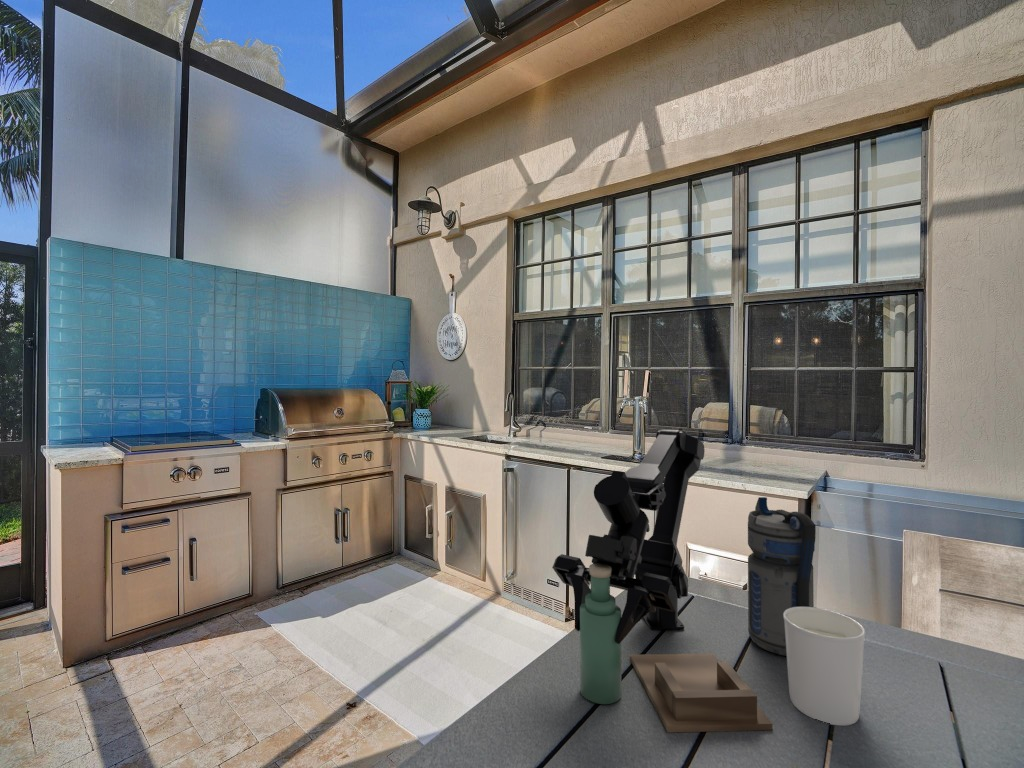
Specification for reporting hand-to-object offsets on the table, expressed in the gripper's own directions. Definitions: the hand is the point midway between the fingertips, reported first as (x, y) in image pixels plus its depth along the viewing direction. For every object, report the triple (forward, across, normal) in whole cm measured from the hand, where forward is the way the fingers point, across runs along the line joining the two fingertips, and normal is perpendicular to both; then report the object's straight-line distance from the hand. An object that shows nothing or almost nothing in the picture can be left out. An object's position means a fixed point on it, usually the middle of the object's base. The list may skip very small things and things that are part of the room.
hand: (596, 636), depth 71 cm
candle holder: (-5, +27, +18) cm, 33 cm away
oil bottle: (+5, 0, +7) cm, 9 cm away
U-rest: (-1, +11, +13) cm, 17 cm away
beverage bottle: (-16, +21, +29) cm, 39 cm away
